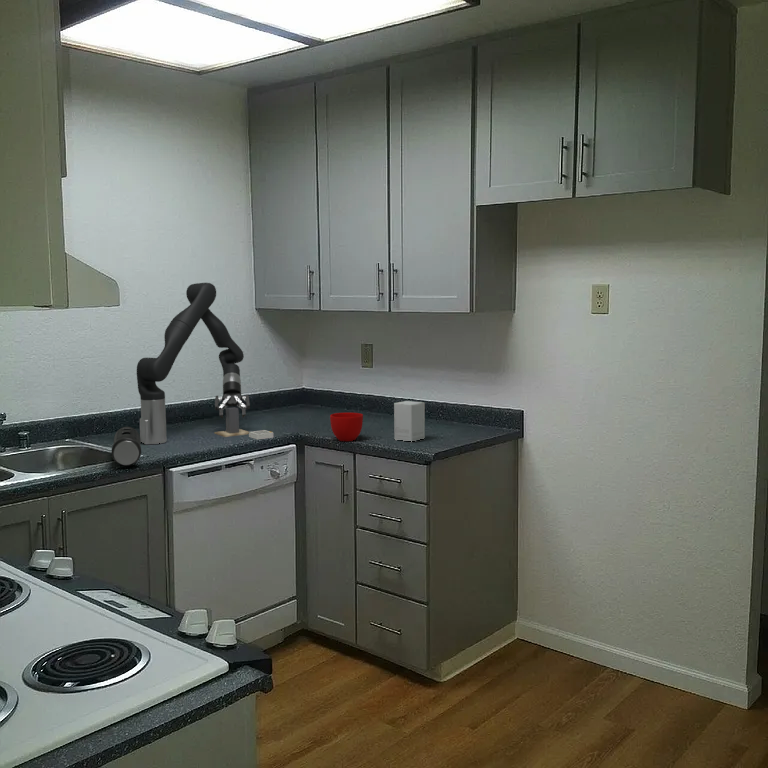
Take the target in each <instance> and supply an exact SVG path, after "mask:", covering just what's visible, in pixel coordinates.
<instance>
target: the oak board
mask: <svg viewBox="0 0 768 768" xmlns="http://www.w3.org/2000/svg"><path fill="white" fill-rule="evenodd" d="M249 432H250V431H248V430H246V429H245V430H244V429H242V428H239V433H227V432H226V430H221V431H215V432H213V433H214V434H215V435H218V436H220V437H223V438H228V437H236V436H245V435H249Z"/></svg>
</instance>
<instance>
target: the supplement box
mask: <svg viewBox="0 0 768 768" xmlns="http://www.w3.org/2000/svg"><path fill="white" fill-rule="evenodd" d="M425 405H426V404H425V402H423V401H422V402H421V401H413V400H412V401H411V400H404V401H399V402H394V403H393V411H394V412H393V413H394V415H393V416H394V417H393V420H394V421H393V423H394V426H393V428H394V432H393V434H394V439H395V440H394V439H393V440H394V441H397V440H403V441H402V442H404V441H411V442H410V443H413V442H412V441H415V442H417V441H416V440H420V439H424V438H425V437H426V435H425V434H426V432H425V430H426V429H425V428H426V427H425V425H426V424H425V422H426V421H425V418H426V416H425V415H426V414H425V412H426V411H425V410H426V409H425ZM425 439H426V438H425ZM425 439H424V440H425ZM420 441H421V440H420Z"/></svg>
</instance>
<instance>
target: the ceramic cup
mask: <svg viewBox="0 0 768 768" xmlns="http://www.w3.org/2000/svg"><path fill="white" fill-rule="evenodd" d="M329 418H330V426H331V427H330V428H331V432H332V434H333V435H334V436H335V437H336V439H337V440H338V441H339V442H352V441H353V440H354V441H356V440H357V438H358V437H359V435H360V434H361V431H362V429H363V423H364V420H363V419H364V414H363V413H359V412H335V413H332V414H330V417H329ZM354 441H353V442H354Z"/></svg>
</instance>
